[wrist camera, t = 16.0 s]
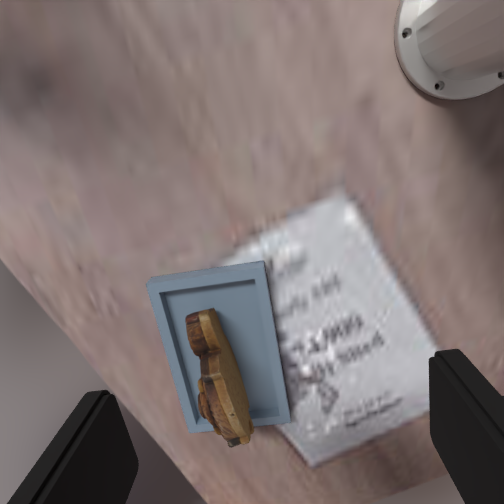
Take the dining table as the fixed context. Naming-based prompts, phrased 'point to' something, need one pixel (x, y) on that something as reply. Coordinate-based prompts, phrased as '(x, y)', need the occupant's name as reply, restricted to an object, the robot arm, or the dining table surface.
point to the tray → (234, 327)
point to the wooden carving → (219, 379)
